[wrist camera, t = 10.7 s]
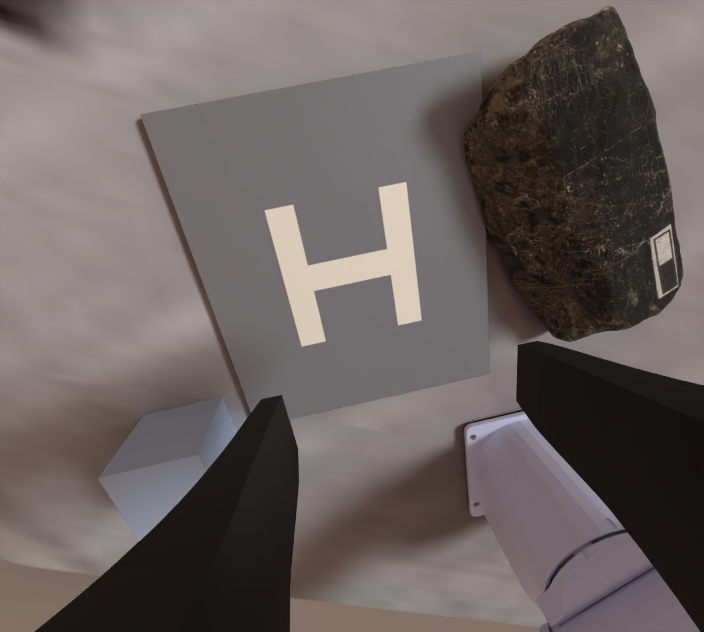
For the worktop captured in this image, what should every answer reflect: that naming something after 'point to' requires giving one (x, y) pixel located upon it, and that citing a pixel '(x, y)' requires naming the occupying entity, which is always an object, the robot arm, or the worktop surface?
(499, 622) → the worktop surface
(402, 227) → the letter board
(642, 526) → the robot arm
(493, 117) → the rock
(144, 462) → the gray cube
